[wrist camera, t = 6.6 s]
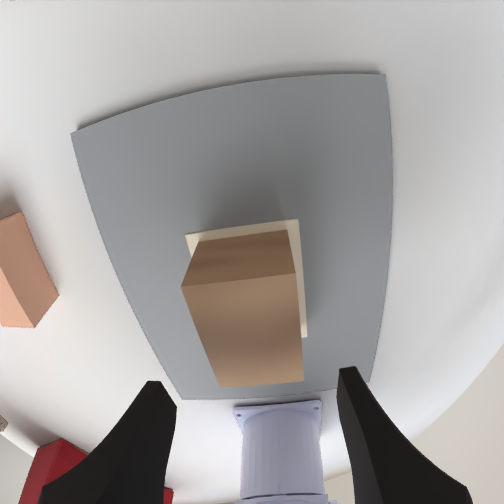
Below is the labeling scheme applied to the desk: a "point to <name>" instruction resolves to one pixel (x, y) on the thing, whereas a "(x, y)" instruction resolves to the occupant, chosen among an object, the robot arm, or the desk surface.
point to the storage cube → (57, 469)
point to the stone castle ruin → (2, 423)
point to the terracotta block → (22, 276)
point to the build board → (251, 211)
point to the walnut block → (247, 308)
